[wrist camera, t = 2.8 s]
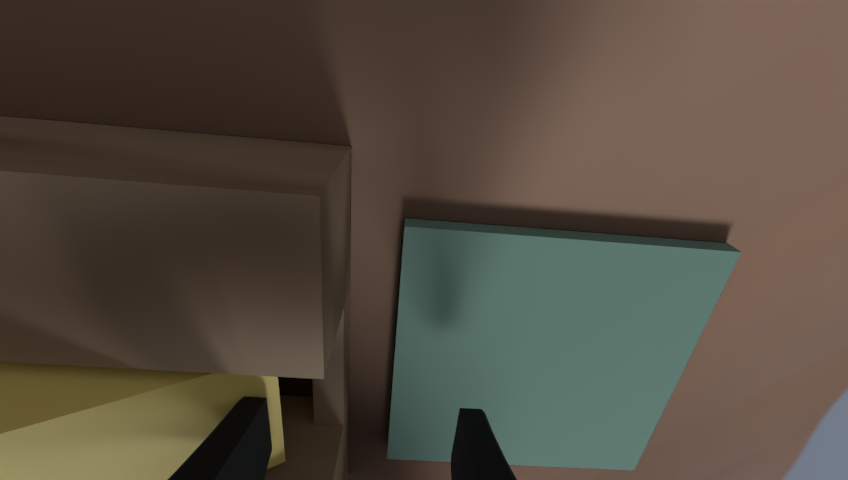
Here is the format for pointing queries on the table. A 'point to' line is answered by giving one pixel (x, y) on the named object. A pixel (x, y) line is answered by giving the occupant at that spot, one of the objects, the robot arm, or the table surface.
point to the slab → (116, 419)
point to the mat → (545, 338)
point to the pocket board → (183, 263)
